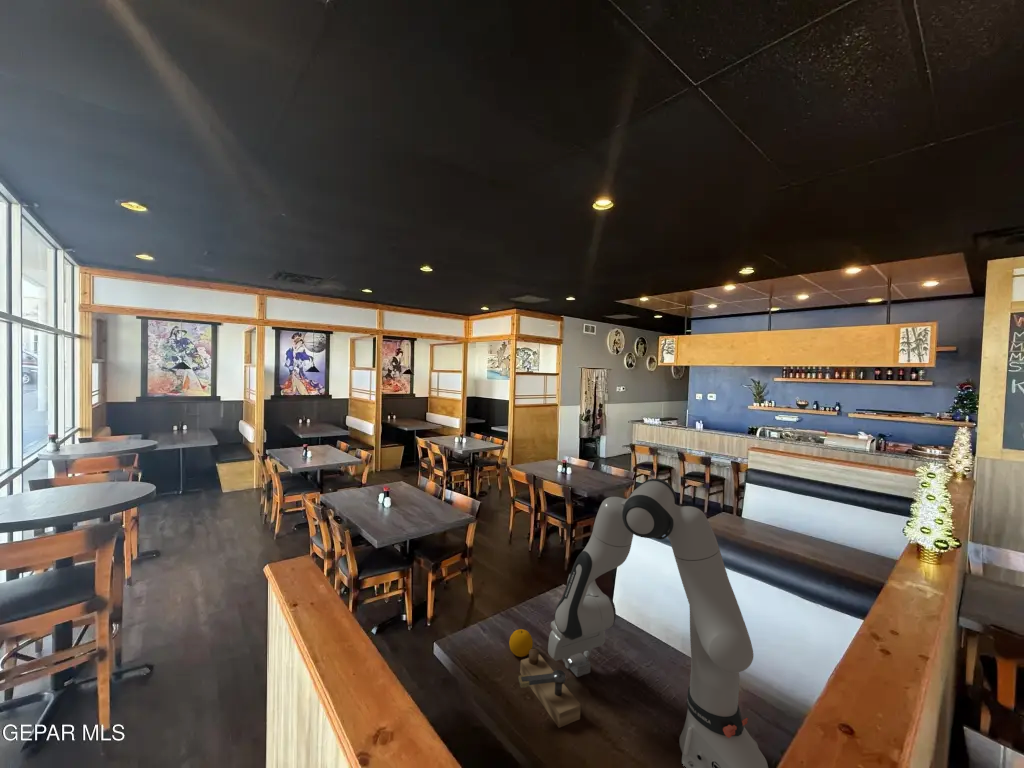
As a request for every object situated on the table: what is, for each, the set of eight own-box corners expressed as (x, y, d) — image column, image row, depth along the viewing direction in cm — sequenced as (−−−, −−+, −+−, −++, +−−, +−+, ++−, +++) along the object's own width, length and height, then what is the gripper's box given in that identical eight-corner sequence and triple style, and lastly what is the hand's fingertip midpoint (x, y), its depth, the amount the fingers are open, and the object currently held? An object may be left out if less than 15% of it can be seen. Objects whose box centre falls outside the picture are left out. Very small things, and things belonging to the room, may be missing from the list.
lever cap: (590, 672, 129) (590, 663, 129) (577, 677, 126) (577, 667, 126) (575, 656, 136) (575, 647, 136) (562, 660, 134) (563, 651, 133)
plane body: (580, 718, 114) (581, 691, 113) (558, 728, 110) (560, 700, 110) (539, 666, 133) (540, 643, 133) (520, 672, 130) (521, 648, 130)
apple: (505, 657, 136) (506, 635, 136) (512, 642, 144) (513, 621, 144) (529, 663, 134) (530, 641, 134) (534, 648, 142) (535, 627, 141)
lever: (562, 674, 119) (563, 669, 119) (566, 683, 116) (567, 678, 116) (518, 679, 116) (518, 674, 116) (521, 689, 113) (521, 683, 113)
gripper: (598, 609, 138) (595, 649, 139) (546, 623, 129) (544, 666, 129) (610, 619, 133) (608, 661, 133) (557, 635, 123) (555, 680, 124)
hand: (576, 664), depth 131 cm, fingers closed on lever cap, 5 cm apart
